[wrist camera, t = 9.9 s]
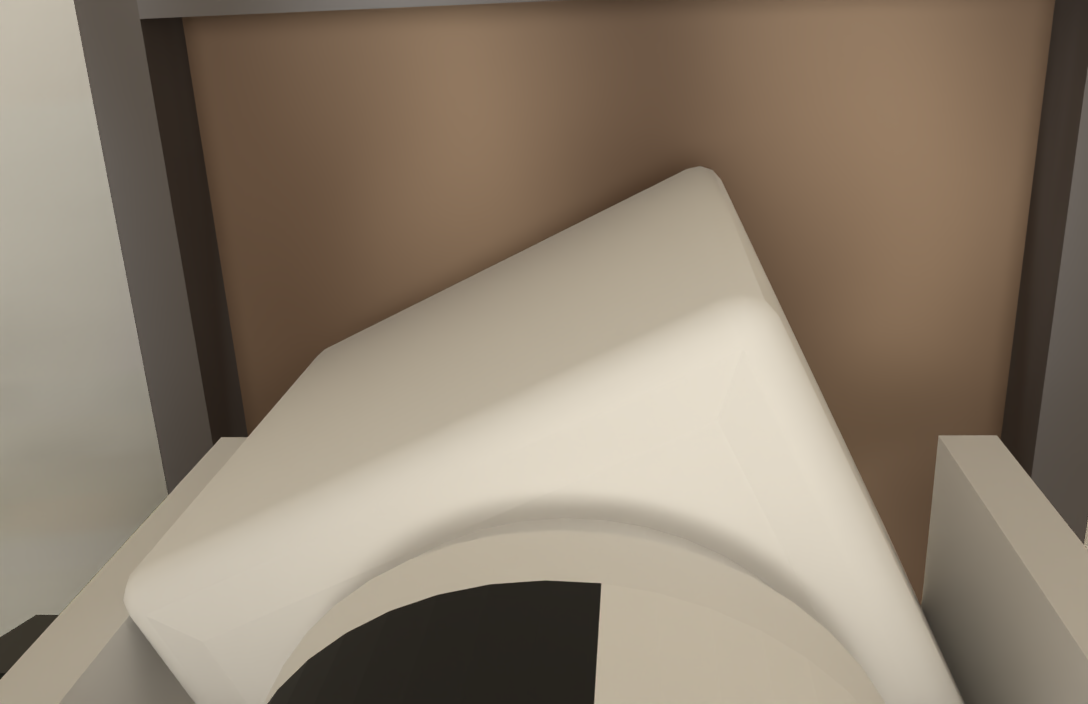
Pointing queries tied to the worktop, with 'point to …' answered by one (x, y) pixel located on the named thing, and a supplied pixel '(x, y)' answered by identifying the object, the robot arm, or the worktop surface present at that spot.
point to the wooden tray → (617, 193)
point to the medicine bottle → (551, 500)
